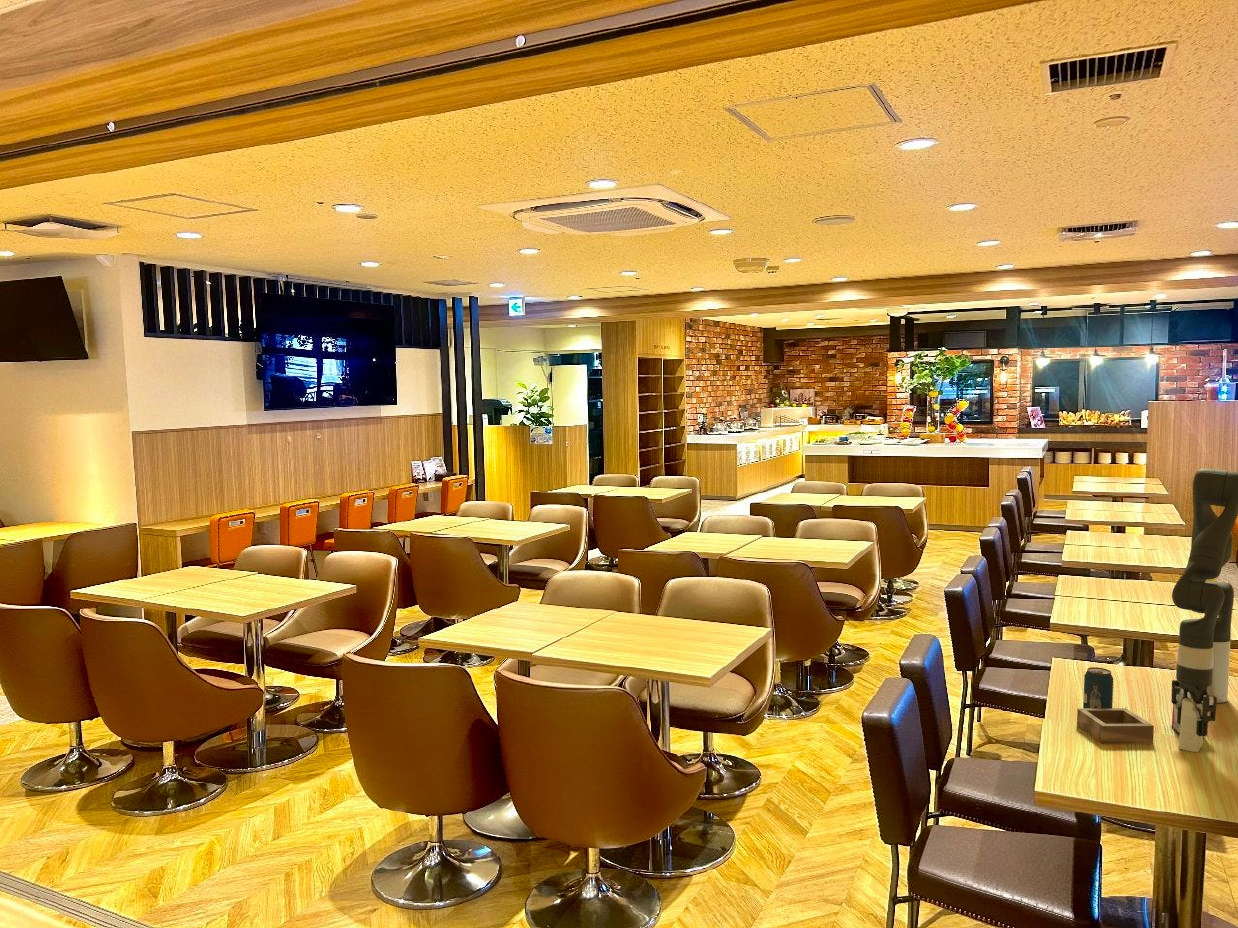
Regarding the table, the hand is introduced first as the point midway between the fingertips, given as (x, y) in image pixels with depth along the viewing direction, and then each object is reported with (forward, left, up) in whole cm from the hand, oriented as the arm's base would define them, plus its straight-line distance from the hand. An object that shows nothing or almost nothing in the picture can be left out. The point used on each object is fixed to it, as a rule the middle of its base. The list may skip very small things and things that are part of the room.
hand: (1191, 729), depth 227 cm
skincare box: (0, 0, -5) cm, 5 cm away
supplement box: (-10, +6, -5) cm, 13 cm away
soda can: (-24, -11, -5) cm, 26 cm away
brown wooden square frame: (-9, -14, -4) cm, 17 cm away
